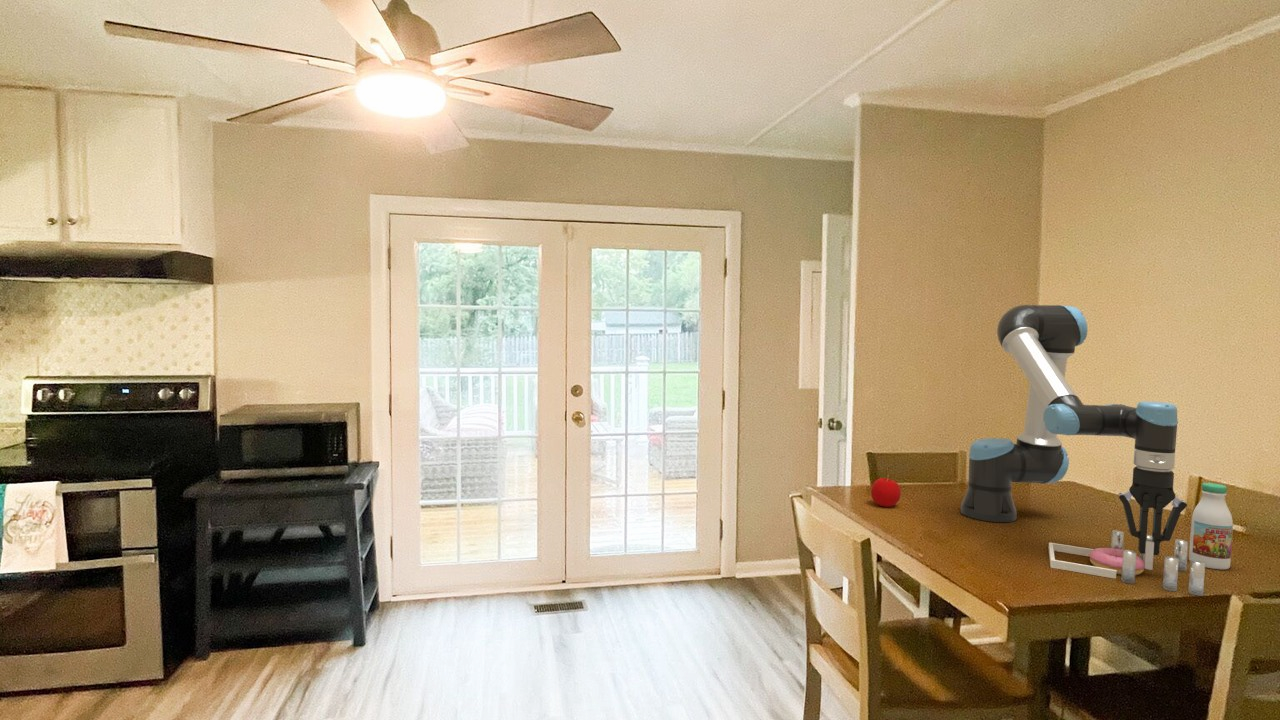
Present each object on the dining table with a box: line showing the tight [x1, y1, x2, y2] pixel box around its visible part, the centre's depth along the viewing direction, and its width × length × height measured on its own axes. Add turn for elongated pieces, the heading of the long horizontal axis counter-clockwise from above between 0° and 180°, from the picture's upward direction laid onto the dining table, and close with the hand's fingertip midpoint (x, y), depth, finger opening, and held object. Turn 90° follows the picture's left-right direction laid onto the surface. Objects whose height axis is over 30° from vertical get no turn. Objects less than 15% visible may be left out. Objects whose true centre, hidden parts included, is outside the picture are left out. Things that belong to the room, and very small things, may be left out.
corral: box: [1048, 542, 1117, 579], centre depth 161 cm, size 13×16×2 cm
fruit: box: [870, 474, 902, 508], centre depth 210 cm, size 9×9×10 cm
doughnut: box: [1088, 547, 1145, 576], centre depth 157 cm, size 11×11×4 cm
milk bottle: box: [1188, 482, 1234, 571], centre depth 161 cm, size 8×8×20 cm
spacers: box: [1110, 529, 1206, 597], centre depth 154 cm, size 15×19×7 cm
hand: (1147, 567), depth 154 cm, fingers closed
